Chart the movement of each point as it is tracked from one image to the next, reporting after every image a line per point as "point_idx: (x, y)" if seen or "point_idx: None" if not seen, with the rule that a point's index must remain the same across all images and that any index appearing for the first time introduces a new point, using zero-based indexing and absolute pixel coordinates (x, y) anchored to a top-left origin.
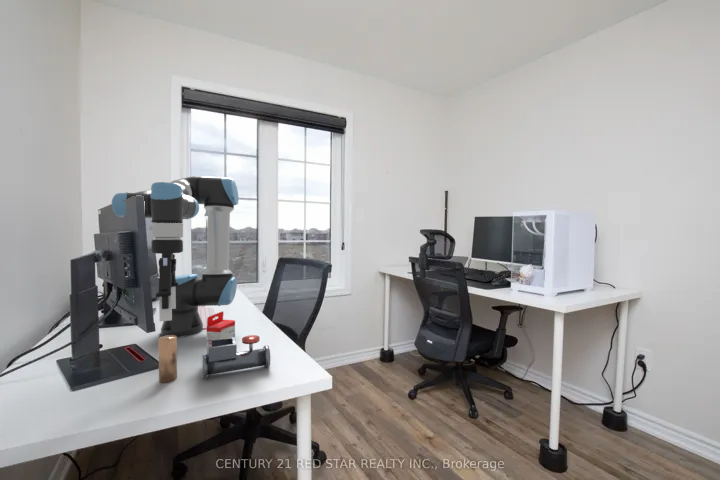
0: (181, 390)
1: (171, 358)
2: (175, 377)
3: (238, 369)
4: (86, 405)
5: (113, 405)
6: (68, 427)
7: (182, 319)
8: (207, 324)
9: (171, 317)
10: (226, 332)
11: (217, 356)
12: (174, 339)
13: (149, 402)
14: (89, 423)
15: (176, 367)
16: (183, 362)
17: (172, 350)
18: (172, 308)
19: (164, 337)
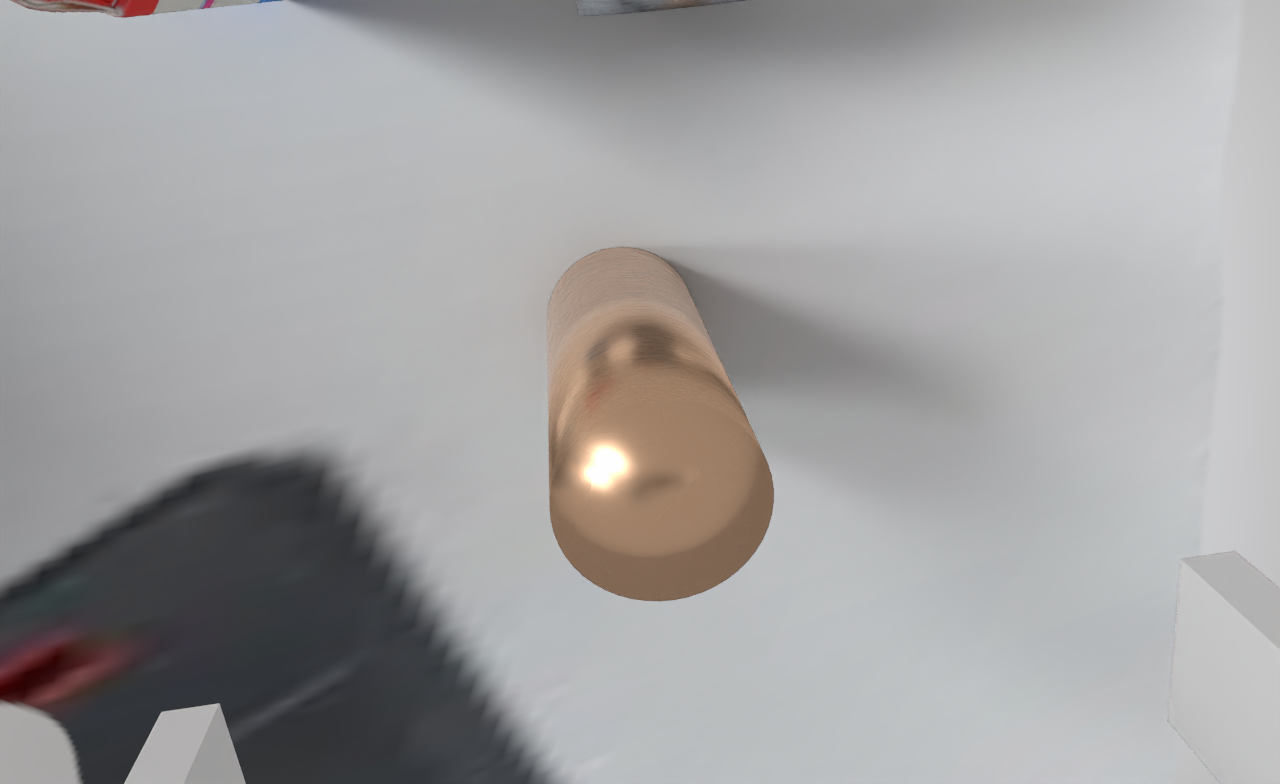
0: (894, 155)
1: (712, 349)
2: (651, 258)
3: None
4: (868, 720)
5: (940, 571)
6: (1113, 697)
7: None
8: (95, 2)
9: (1269, 582)
10: None
11: None
12: (716, 404)
13: (1003, 355)
14: (1121, 615)
15: (640, 277)
16: (216, 264)
17: (722, 372)
18: (230, 758)
19: (645, 542)
